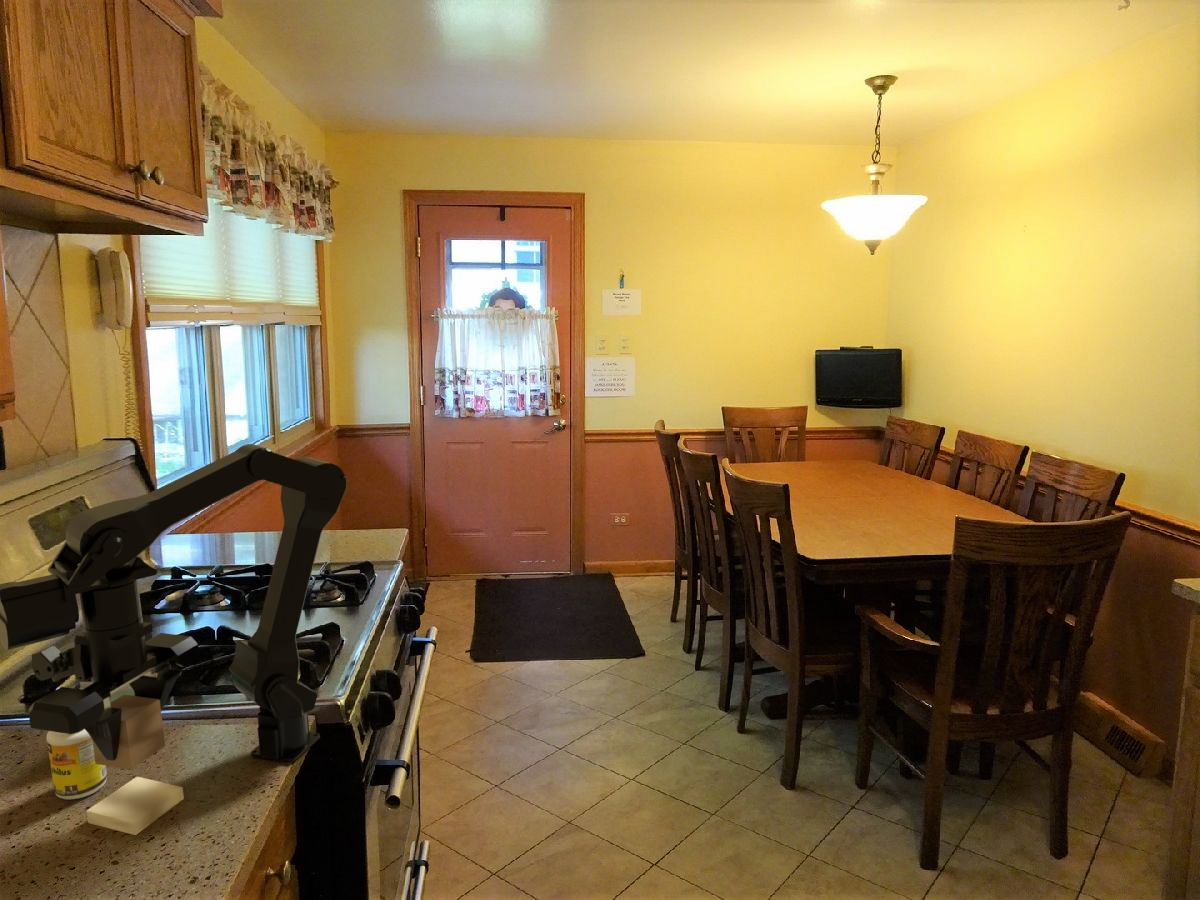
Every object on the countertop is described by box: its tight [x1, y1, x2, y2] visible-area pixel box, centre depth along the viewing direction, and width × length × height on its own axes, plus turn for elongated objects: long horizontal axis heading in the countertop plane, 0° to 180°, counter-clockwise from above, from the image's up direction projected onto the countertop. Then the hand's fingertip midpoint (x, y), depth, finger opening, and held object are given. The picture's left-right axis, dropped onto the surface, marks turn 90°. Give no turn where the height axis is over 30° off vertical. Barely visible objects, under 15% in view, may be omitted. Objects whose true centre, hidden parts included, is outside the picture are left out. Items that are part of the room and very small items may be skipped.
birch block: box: [86, 776, 185, 836], centre depth 97 cm, size 7×7×2 cm
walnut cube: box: [92, 695, 166, 771], centre depth 95 cm, size 5×5×6 cm
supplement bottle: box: [46, 729, 108, 800], centre depth 100 cm, size 6×6×10 cm
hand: (129, 746), depth 95 cm, fingers closed on walnut cube, 5 cm apart
